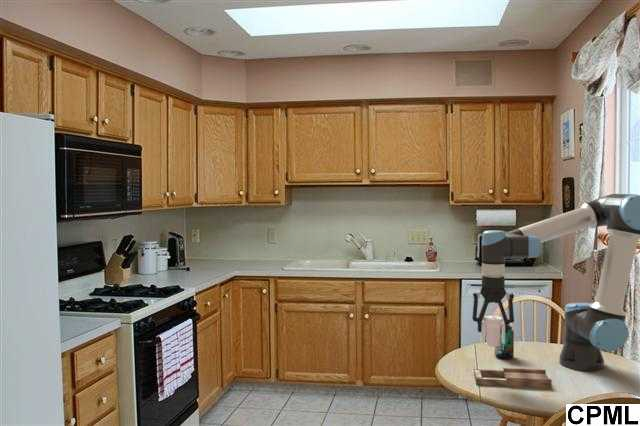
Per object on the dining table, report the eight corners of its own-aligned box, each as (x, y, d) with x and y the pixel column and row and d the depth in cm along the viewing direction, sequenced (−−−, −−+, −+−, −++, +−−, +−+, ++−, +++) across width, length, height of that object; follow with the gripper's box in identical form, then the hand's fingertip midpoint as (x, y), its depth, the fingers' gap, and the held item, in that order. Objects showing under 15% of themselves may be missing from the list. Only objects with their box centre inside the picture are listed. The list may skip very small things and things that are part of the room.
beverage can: (517, 358, 213) (517, 328, 212) (501, 360, 211) (501, 329, 210) (507, 353, 219) (507, 323, 219) (491, 355, 218) (491, 325, 217)
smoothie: (491, 348, 185) (492, 308, 184) (479, 343, 191) (479, 304, 190) (506, 346, 188) (506, 306, 187) (493, 341, 194) (493, 302, 193)
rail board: (545, 378, 191) (545, 369, 191) (551, 388, 182) (551, 379, 182) (474, 374, 196) (474, 366, 196) (476, 384, 187) (476, 375, 186)
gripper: (520, 274, 190) (520, 339, 191) (463, 273, 194) (463, 337, 195) (524, 278, 183) (523, 346, 184) (464, 276, 186) (464, 343, 188)
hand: (492, 341), depth 189 cm, fingers closed on smoothie, 6 cm apart
